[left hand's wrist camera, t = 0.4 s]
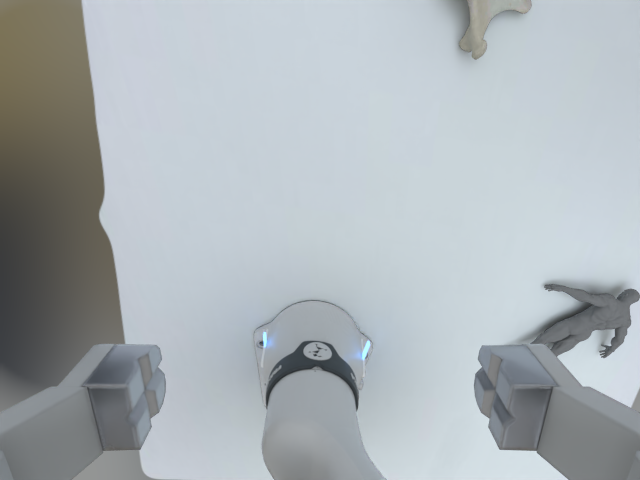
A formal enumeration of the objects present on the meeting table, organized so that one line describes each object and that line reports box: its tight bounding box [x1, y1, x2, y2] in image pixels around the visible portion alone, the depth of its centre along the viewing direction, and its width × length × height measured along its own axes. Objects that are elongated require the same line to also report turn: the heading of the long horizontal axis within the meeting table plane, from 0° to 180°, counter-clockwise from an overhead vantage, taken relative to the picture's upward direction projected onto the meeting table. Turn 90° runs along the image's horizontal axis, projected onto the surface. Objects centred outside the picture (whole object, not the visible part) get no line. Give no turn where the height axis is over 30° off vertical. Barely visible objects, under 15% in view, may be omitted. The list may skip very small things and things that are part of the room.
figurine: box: [530, 284, 640, 358], centre depth 62 cm, size 17×4×20 cm
